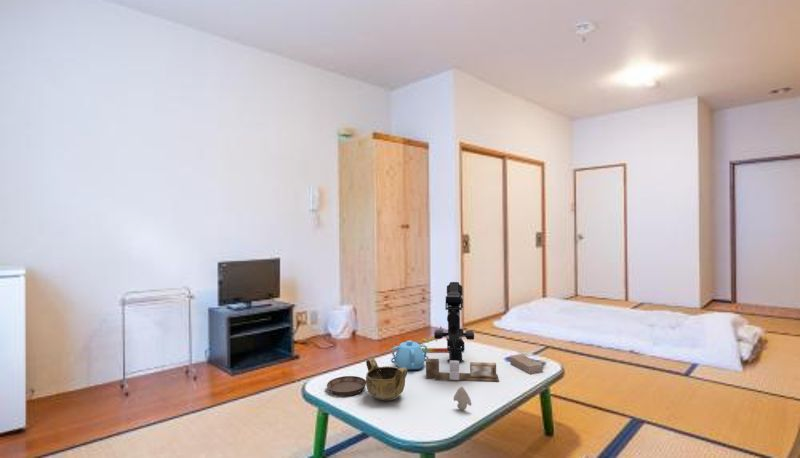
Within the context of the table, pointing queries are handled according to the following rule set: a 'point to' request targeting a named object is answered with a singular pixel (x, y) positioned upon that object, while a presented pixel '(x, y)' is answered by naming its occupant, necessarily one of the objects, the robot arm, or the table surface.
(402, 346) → the decorative pot
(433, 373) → the wooden shelf
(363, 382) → the plant saucer
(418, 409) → the table surface
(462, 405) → the arrowhead
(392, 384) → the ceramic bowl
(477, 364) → the wall mounted shelf tray
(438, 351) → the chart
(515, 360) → the brick
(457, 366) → the white chair-shaped block
